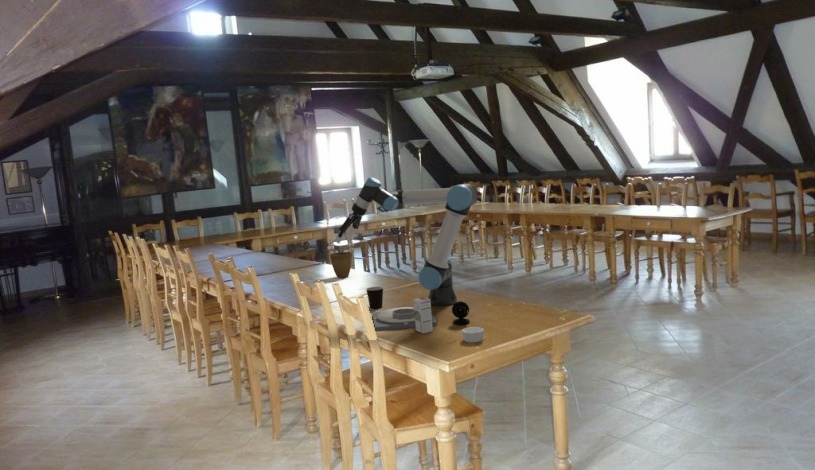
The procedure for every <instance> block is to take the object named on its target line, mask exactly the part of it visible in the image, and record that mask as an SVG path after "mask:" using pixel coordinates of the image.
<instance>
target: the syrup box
mask: <svg viewBox="0 0 815 470" xmlns="http://www.w3.org/2000/svg"><path fill="white" fill-rule="evenodd" d="M412 301H413V307H414V315H415V327H414V329H415V332H418V333H420V334H427V333H431V332H432V333H433V326H432V315H431V312H432V305H431V302H430V299H428V297H417V298H413V300H412Z"/></svg>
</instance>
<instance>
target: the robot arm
mask: <svg viewBox="0 0 815 470" xmlns="http://www.w3.org/2000/svg"><path fill="white" fill-rule="evenodd" d="M478 199H479V192H478V190H477V188H476V187H475V186H474V185H473V184H471V183H461V184H455V185H451V186H450V187H446V188H443V187H442V188H426V189H425V188H424V189H423V188H422V189H420V188H419V189H407V190H406V189H405V190H392V191H387V190H385V189H384V188H382V182H381V181H380V180H378V179H377V178H376V177H373V176H372V177H371V176H370V177H368V178H367V179H366V181H365V183H364V184H363V187H362V188H361V190H360V192H359V194H358V195H356V200H355V202H354V203H353V205H352V207H351V210H352V213H349V215H347V218H346V219H345V221H344V222H343V223H342V225H340V227H339V228H338V230H339V232H338V234H336V235H337V236H336V238H335V239H334V242H336V243H337V244H341V241H342V240H343V238H344V236H345V238H346V239H348V240H351V238H352V236H353V235H354V233H355V231H356V230H358V229H359V227H360V224H361V221H362V218H363V216H365V215H366V213H367V212H368V210H369V208H370V207H371V204H372V202H375V203H376V204H377V205H379V206H381V207H382V208H384V209H385V210H387V211H388V212H393V211H395V209H396V208H397V207H398V206H404V205H406V206H409V205H432V204H433V205H435V204H445V207H444V209H445V211H446V213H445V215H444V219H443V221H442V224H441V227H440V229H439V232H438V236H437V238H436V241H435V243H434V246H433V248H432V252H431V255H430V256H429V257H427V258H426V260H425V262H424V264H423V268H421V270H420V271H419V272H418V278H417V279H418V282H419V284H420V285H421V287H423V288H424V289H425V290H429V292H428V297H427V298H428V299H430V302H431V306H436V307H437V306H440V307H441V306H443V307H444V306H449V305H454V304H455V303H456V302H458V297H457V294H456V291H455V289H454V283H453V282H454V281H453V264H452V260H451V259H450V255H451V253H452V250H453V247H454V244H455V242H456V239H457V236H458V234H459V230H460V228H461V225H462V223H463V220H464V218H467V216H469V212H470V210H471V207H472V206H474V205H475V204H476V203H477V201H478ZM351 225H352V226H351ZM348 229H349V230H348ZM347 230H348V231H347ZM346 231H347V233H346ZM345 234H346V235H345Z"/></svg>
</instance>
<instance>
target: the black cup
mask: <svg viewBox="0 0 815 470" xmlns="http://www.w3.org/2000/svg"><path fill="white" fill-rule="evenodd" d="M366 294H367V299H368V305H369V309H371V310H377V309H378V310H379V309H382V308H383V300H384V297H383V296H384V287H383V286H372V287H370V286H369V287H368V288H366Z"/></svg>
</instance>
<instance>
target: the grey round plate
mask: <svg viewBox="0 0 815 470" xmlns="http://www.w3.org/2000/svg"><path fill="white" fill-rule="evenodd" d="M379 312H380V313H378V320H380V321H382V322H386V323H409V322H415V315H414V306H412V307H411V306H404V307H394V308H389V309H385V310H382V311H379Z"/></svg>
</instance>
